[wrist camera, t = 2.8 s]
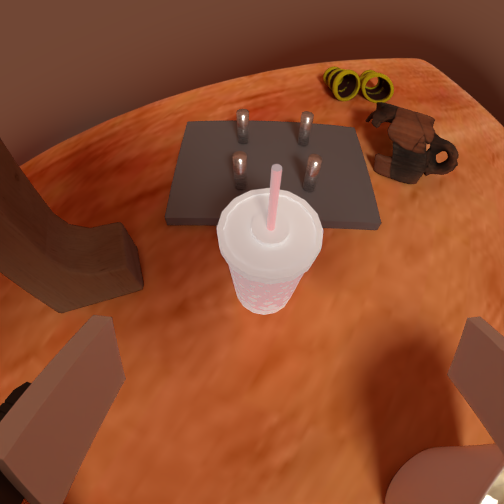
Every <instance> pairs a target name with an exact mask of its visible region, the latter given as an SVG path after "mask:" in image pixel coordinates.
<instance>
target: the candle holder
mask: <svg viewBox="0 0 504 504" xmlns="http://www.w3.org/2000/svg"><path fill="white" fill-rule="evenodd" d="M385 504H504V456H503V454H502V452H501V451H500V449H499V448H498V446H497V445H496V443H495V444H483V445H468V446H444V447H434V448H430V449H427V450H424V451H422V452H420V453H418V454H416V455H415V456H413V457H412V458H411V459H409V460H408V461H407V462H406V463H405V464H404V465H403V466H402V467H401V468H400V469H399V471H398V472H397V473H396V475H395V476H394V478H393V479H392V481H391V483H390V485H389V487H388V490H387V493H386V497H385Z"/></svg>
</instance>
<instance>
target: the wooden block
mask: <svg viewBox="0 0 504 504" xmlns="http://www.w3.org/2000/svg"><path fill="white" fill-rule="evenodd" d="M0 272H1V273H2V274H4V275H5V276H6V277H8V278H9V279H10V280H12V281H13V282H14V283H16V284H17V285H19V286H20V287H21V288H23V289H24V290H26V291H27V292H28V293H30V294H31V295H33V296H34V297H36V298H37V299H39V300H40V301H42V302H43V303H45V304H46V305H48V306H49V307H51V308H52V309H54V310H55V311H57V312H58V313H64V312H67V311H71V310H74V309H78V308H81V307H84V306H88V305H91V304H95V303H98V302H102V301H105V300H108V299H112V298H115V297H119V296H122V295H125V294H129V293H132V292H136V291H139V290H142V289H143V285H144V284H143V278H142V273H141V267H140V262H139V256H138V250H137V247H136V245H135V244H134V242H133V240H132V239H131V237H130V235H129V234H128V232H127V230H126V229H125V227H124V225H123V224H122V223H121V222H117V223H112V224H107V225H103V226H98V227H93V228H87V227H82V226H76V225H71V224H68V223H67V222H65V221H64V220H62V219H61V218H60V217H58V216H57V215H56V214H54V213H53V212H52V211H51V209H50V208H49V207H48V205H47V204H46V203H45V202H44V200H43V199H42V198H41V196H40V195H39V194H38V192H37V191H36V190H35V188H34V187H33V186H32V184H31V183H30V181H29V180H28V179H27V177H26V176H25V174H24V173H23V172H22V170H21V169H20V167H19V166H18V164H17V163H16V162H15V160H14V158H13V157H12V155H11V154H10V152H9V151H8V149H7V148H6V146H5V145H4V143H3V142H2V140H1V139H0Z"/></svg>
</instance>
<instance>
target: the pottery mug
mask: <svg viewBox="0 0 504 504" xmlns="http://www.w3.org/2000/svg"><path fill="white" fill-rule="evenodd" d="M372 118H373V120H372V124H373V125H374V127H376V128H377V127H379V126H380V124H381V123H383V122H389V123H391V125H390V126H389V128H388V135H389V138H390V139H391V140H392V141H393V155H392V157H389V156H384V155H381V154H379V153H378V154H376V155H375V164H374V171H375V172H377V173H379V174H381V175H383V176H386V177H389V178H391V179H395V180H397V181H399V182H403V183H407V184H416V183H417V181H418V180H419V178H420V177H421V176H422V174H423V173H424V174H425V176H427V175H429V174H440V175H444V174H447V173H449V172H451V171H453V170H454V169H455V167H456V166H457V165H458V163H457V158H458V151H457V149H456V147H455V146H454V145H453V144H452V143H451V142H449V141H447V140H444V139H442V138H440V137H439V136H438V135H437V134H436V133H435V130H434V129H433V124H434V121H435V119H434V118H432V117H430V116H427V115H424V114H421V113H418V112H413V111H411V110H408V109H404V108H401V107H397V106H394V105H391V104H387V103H383V102H377V108H376V110H375V111H374V112H373V113H371V114H370V115H369V117H368V118H367V119H366V122H369V121H370V120H371V119H372ZM426 144H430V148H429V149H428V150H427V151H426ZM441 151H445V152H447V154H448V158H447V159H446V160H445V161H444V162H441V163H437V162H436V155H437V154H438V153H440V152H441Z"/></svg>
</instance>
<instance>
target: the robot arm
mask: <svg viewBox="0 0 504 504" xmlns="http://www.w3.org/2000/svg"><path fill="white" fill-rule="evenodd" d="M447 375H448V377H449V378H450V379H451V381H452V382H453V383H454V385H455V386H456V387H457V389H458V390H459V391H460V393H461V394H462V395H463V397H464V398H465V400H466V401H467V402H468V404H469V405H470V407H471V408H472V409H473V411H474V412H475V414H476V415H477V417H478V418H479V419H480V421H481V422H482V424H483V425H484V427H485V428H486V430H487V431H488V433H489V434H490V436H491V437H492V439H493V440H494V442H495V443H496V445H497V446H498V448H499V449H500V451H501V452H502V454H503V456H504V337H503V336H502V335H501V334H500V333H499V332H498V331H496V330H495V329H494V328H493V327H492V326H491V325H489V324H488V323H487V322H486V321H485V320H484V319H482V318H481V317H473V318H467V321H466V324H465V327H464V330H463V333H462V336H461V339H460V342H459V345H458V348H457V351H456V353H455V356H454V359H453V361H452V364H451V366H450V369H449V371H448V374H447ZM125 379H126V378H125V375H124V371H123V367H122V362H121V358H120V354H119V349H118V345H117V340H116V335H115V331H114V325H113V320H112V317H107V316H99V315H93V316H92V317H91V318H90V319H89V320H88V321H87V322H86V323H85V324H84V325H83V326H82V328H81V329H80V330H79V331H78V332H77V333H76V334H75V335H74V336H73V337H72V338H71V339H70V340H69V342H68V343H67V344H66V345H65V346H64V347H63V348H62V349H61V350H60V352H59V353H58V354H57V355H56V356H55V357H54V358H53V359H52V360H51V362H50V363H49V364H48V365H47V366H46V367H45V368H44V370H43V371H42V372H41V373H40V374H39V375H38V377H37V378H36V379H35V380H34V381H33V382H32V383H29V382H26V383H24V384H23V385H21V386H19V387H18V388H16V389H15V390H13V392H12V393H11V394H10V395H9V396H8V397H7V399H6V400H5V403H2V405H1V406H0V504H21V503H22V501H23V499H24V498H25V499H26V500H27V501H28V502H29V503H30V504H63V502H64V500H65V498H66V496H67V493H68V491H69V489H70V487H71V485H72V483H73V481H74V478H75V476H76V474H77V472H78V470H79V468H80V466H81V464H82V462H83V460H84V458H85V456H86V454H87V452H88V450H89V448H90V446H91V444H92V442H93V440H94V438H95V436H96V434H97V432H98V430H99V428H100V426H101V424H102V422H103V420H104V418H105V416H106V414H107V413H108V411H109V409H110V407H111V405H112V403H113V401H114V399H115V397H116V396H117V394H118V392H119V390H120V388H121V386H122V384H123V383H124V381H125Z"/></svg>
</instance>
